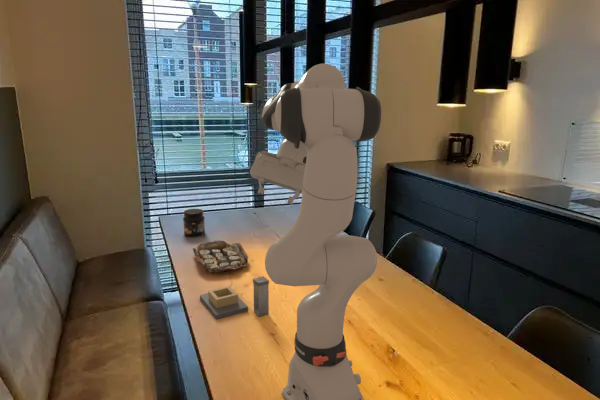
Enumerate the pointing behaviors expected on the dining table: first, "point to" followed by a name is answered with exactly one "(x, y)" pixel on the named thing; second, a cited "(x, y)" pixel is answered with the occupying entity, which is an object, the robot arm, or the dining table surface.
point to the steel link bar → (261, 296)
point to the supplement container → (194, 222)
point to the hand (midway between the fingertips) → (274, 198)
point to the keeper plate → (223, 302)
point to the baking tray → (221, 256)
